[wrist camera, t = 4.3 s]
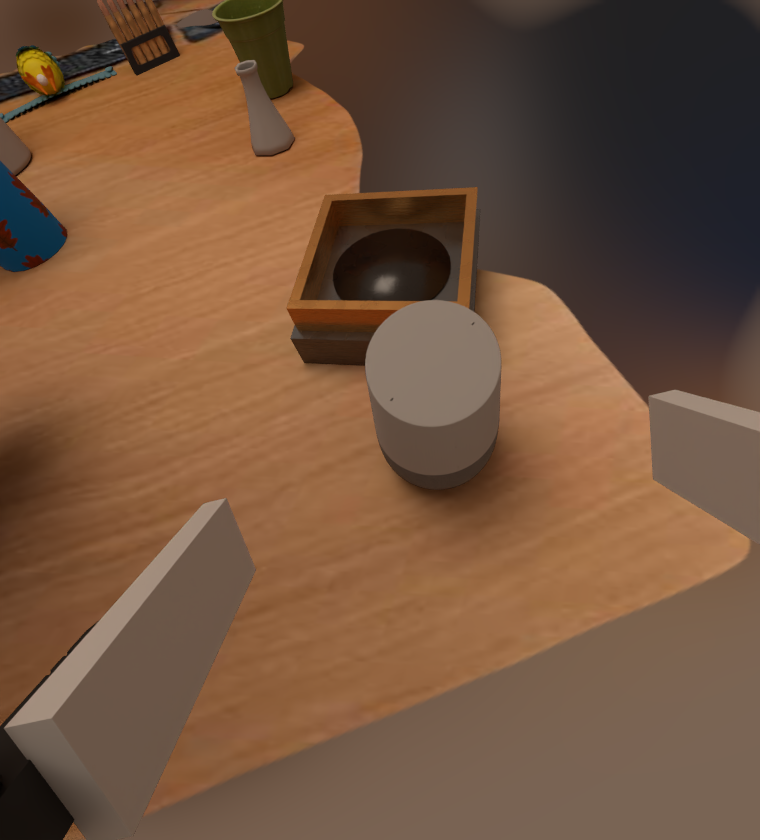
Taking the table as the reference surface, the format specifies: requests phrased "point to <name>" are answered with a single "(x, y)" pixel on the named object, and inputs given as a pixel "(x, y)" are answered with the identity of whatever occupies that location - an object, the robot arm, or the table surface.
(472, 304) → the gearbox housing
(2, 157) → the cylinder vase
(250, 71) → the flask
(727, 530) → the table surface
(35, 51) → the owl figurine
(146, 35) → the ammunition clip
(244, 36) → the plant pot
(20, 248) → the thermos
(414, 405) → the smart speaker
